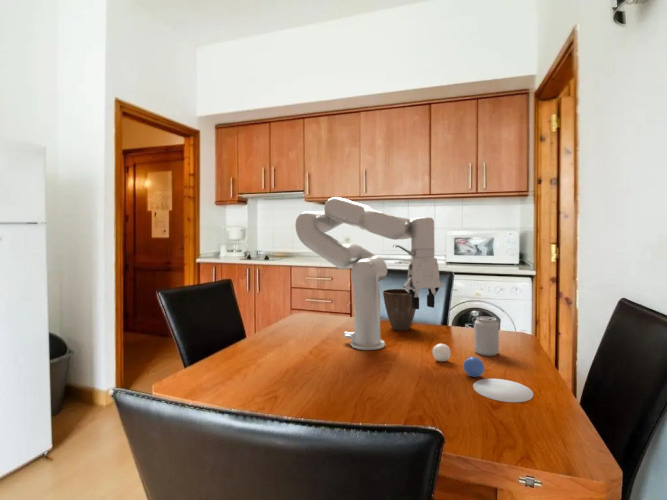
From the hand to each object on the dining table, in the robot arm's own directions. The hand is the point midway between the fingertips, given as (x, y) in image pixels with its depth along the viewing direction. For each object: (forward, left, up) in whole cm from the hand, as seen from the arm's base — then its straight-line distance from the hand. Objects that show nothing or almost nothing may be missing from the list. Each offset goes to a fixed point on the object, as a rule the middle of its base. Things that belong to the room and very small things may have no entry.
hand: (423, 307), depth 125 cm
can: (+20, +6, -16) cm, 26 cm away
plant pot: (-14, +29, -16) cm, 36 cm away
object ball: (+17, -17, -13) cm, 27 cm away
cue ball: (+7, -7, -13) cm, 16 cm away
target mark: (+24, -24, -15) cm, 37 cm away
